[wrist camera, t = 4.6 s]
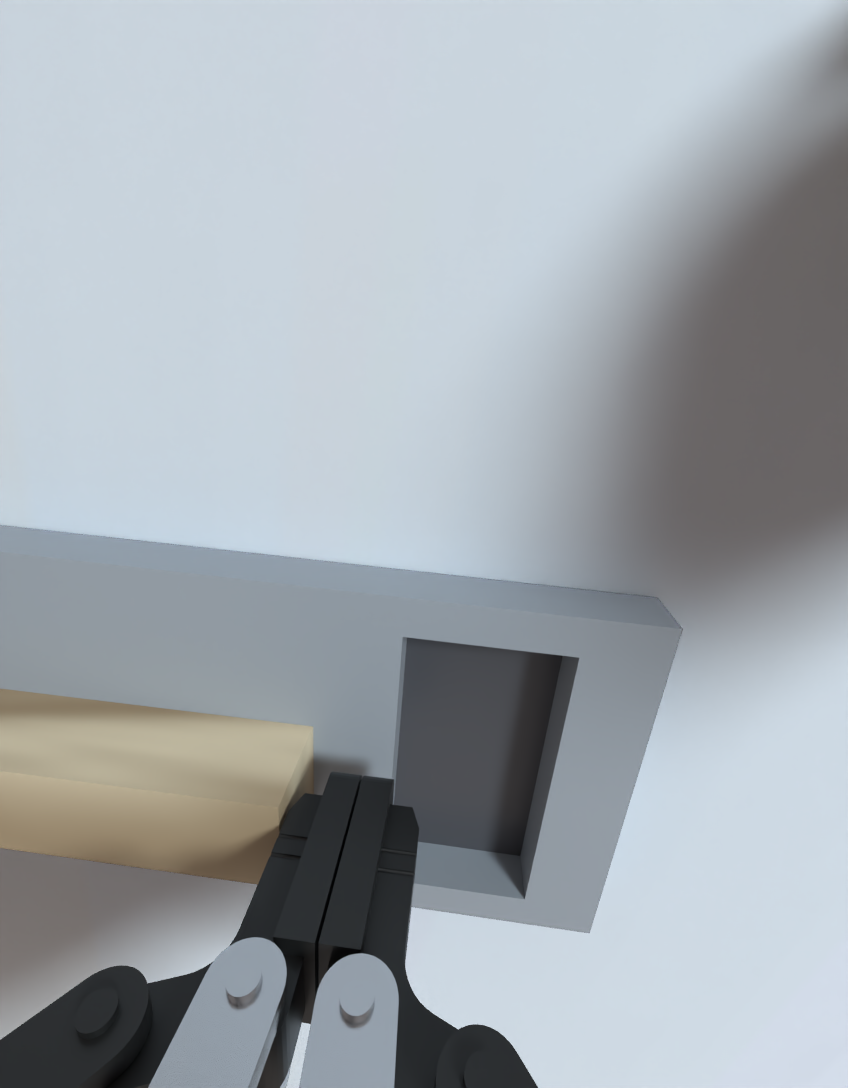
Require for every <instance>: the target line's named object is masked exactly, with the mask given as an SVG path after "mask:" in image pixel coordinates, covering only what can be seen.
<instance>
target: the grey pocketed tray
mask: <svg viewBox="0 0 848 1088" xmlns="http://www.w3.org/2000/svg"><path fill="white" fill-rule="evenodd" d="M682 630H683V629H682V628H681V626H680V625H679V624H678V623H677V621H676V620H675V619H674V618H673V616H672V615H671V614H670V613H669V611H668V610H667V609H666V608H665V606H664V605H663V604H662V603H661V601H660V600H659V599H658V598H655V597H645V596H636V595H627V594H618V593H609V592H600V591H591V590H582V589H573V588H564V587H555V586H546V585H537V584H528V583H519V582H509V581H500V580H491V579H482V578H473V577H464V576H455V575H446V574H437V573H428V572H419V571H410V570H401V569H392V568H383V567H374V566H364V565H355V564H346V563H337V562H328V561H319V560H310V559H301V558H292V557H283V556H274V555H265V554H256V553H247V552H238V551H228V550H219V549H210V548H201V547H192V546H183V545H174V544H165V543H156V542H147V541H138V540H129V539H120V538H111V537H102V536H92V535H83V534H74V533H65V532H56V531H47V530H38V529H29V528H20V527H11V526H2V525H0V689H8V690H17V691H25V692H33V693H41V694H49V695H58V696H66V697H74V698H82V699H91V700H99V701H107V702H115V703H124V704H132V705H140V706H148V707H157V708H165V709H173V710H181V711H190V712H198V713H206V714H214V715H222V716H231V717H239V718H247V719H255V720H264V721H272V722H280V723H288V724H297V725H305V726H313V756H314V794H316V795H323V792H324V789H325V786H326V784H327V781H328V778H329V775H330V773H331V772H332V771H333V772H341V773H349V774H356V775H362V777H363V776H364V775H365V776H373V777H381V778H388V779H394V793H393V805H399V806H407V807H413V810H414V813H415V817H416V820H417V823H418V826H419V837H418V848H417V858H416V869H415V879H414V888H413V897H412V906H411V907H415V908H422V909H429V910H435V911H442V912H449V913H456V914H462V915H469V916H476V917H483V918H489V919H496V920H503V921H510V922H516V923H523V924H530V925H537V926H544V927H550V928H557V929H564V930H571V931H577V932H584V933H590V930H591V927H592V923H593V920H594V917H595V914H596V910H597V907H598V904H599V901H600V897H601V894H602V891H603V888H604V884H605V881H606V878H607V875H608V871H609V868H610V865H611V861H612V858H613V855H614V852H615V848H616V845H617V842H618V839H619V835H620V832H621V829H622V826H623V822H624V819H625V816H626V812H627V809H628V806H629V803H630V799H631V796H632V793H633V790H634V786H635V783H636V780H637V777H638V773H639V770H640V767H641V764H642V760H643V757H644V754H645V750H646V747H647V744H648V741H649V737H650V734H651V731H652V728H653V724H654V721H655V718H656V715H657V711H658V708H659V705H660V701H661V698H662V695H663V692H664V688H665V685H666V682H667V679H668V675H669V672H670V669H671V666H672V662H673V659H674V656H675V653H676V649H677V646H678V643H679V639H680V636H681V633H682Z"/></svg>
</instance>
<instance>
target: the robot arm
mask: <svg viewBox="0 0 848 1088" xmlns="http://www.w3.org/2000/svg"><path fill="white" fill-rule="evenodd" d="M393 793H394V779H388V778H381V777H373V776H365V775H364V776H363V777H362V775H356V774H349V773H341V772H333V771H332V772H331V773H330V775H329V778H328V781H327V784H326V786H325V789H324V792H323V795H316V794H308V793H305V794H304V795H303V796H302V797H301V798H300V799H299V800H298V801H297V802H296V803H295V804H294V805H293V806H292V808H291V809H290V810H289V811H288V813H287V815H286V818H285V820H284V823H283V825H282V827H281V830H280V832H279V837H278V838H277V840H276V842H275V844H274V847H273V849H272V852H271V856H270V857H269V859H268V861H267V864H266V866H265V869H264V871H263V873H262V876H261V878H260V881H259V883H258V886H257V888H256V890H255V893H254V895H253V898H252V900H251V903H250V905H249V907H248V910H247V912H246V915H245V917H244V919H243V922H242V924H241V927H240V929H239V931H238V933H237V935H236V937H235V938H234V940H233V941H232V943H231V944H230V946H229V947H228V948H226V949H225V950H224V951H222V952H221V953H220V954H219V955H218V957H217V958H216V959H215V960H214V961H213V962H212V963H211V964H209V965H207V966H206V967H204V968H202V969H200V970H198V971H196V972H193V973H190V974H187V975H183V976H179V977H174V978H170V979H166V980H161V981H157V982H153V983H148V984H147V981H146V979H145V977H144V976H143V974H142V973H141V972H140V971H139V970H137V969H135V968H133V967H129V966H114V967H110V968H107V969H104V970H101V971H99V972H97V973H95V974H93V975H92V976H90V977H89V978H87V979H85V980H84V981H83V982H81V983H80V984H78V985H77V986H76V987H74V988H73V989H71V990H70V991H69V992H67V993H66V994H64V995H63V996H62V997H60V998H59V999H57V1000H56V1001H55V1002H53V1003H52V1004H50V1005H49V1006H47V1007H46V1008H45V1009H43V1010H42V1011H40V1012H39V1013H38V1014H36V1015H35V1016H33V1017H32V1018H31V1019H29V1020H28V1021H26V1022H25V1023H24V1024H22V1025H21V1026H19V1027H18V1028H17V1029H15V1030H14V1031H12V1032H11V1033H10V1034H8V1035H7V1036H5V1037H4V1038H2V1039H1V1040H0V1088H286V1086H287V1082H288V1078H289V1074H290V1065H291V1062H292V1058H293V1054H294V1050H295V1046H296V1042H297V1039H298V1035H299V1031H300V1027H301V1023H302V1022H303V1023H309V1024H311V1026H310V1031H309V1036H308V1042H307V1047H306V1053H305V1058H304V1063H303V1069H302V1074H301V1080H300V1085H299V1088H538V1087H537V1085H536V1084H535V1082H534V1080H533V1079H532V1077H531V1075H530V1074H529V1072H528V1070H527V1069H526V1067H525V1065H524V1064H523V1062H522V1060H521V1059H520V1057H519V1055H518V1054H517V1052H516V1051H515V1049H514V1048H513V1046H512V1045H511V1043H510V1042H509V1041H508V1040H507V1039H506V1038H505V1037H504V1036H503V1035H501V1034H500V1033H499V1032H498V1031H496V1030H494V1029H492V1028H490V1027H487V1026H484V1025H476V1024H475V1025H468V1026H465V1027H463V1028H461V1029H459V1030H458V1029H456V1028H455V1027H453V1026H452V1025H450V1024H448V1023H447V1022H445V1021H444V1020H442V1019H440V1018H439V1017H437V1016H436V1015H434V1014H433V1013H431V1012H430V1011H429V1010H427V1009H426V1008H425V1007H424V1006H423V1005H422V1004H421V1003H420V1002H419V1000H418V999H417V997H416V996H415V995H414V993H413V991H412V989H411V987H410V984H409V982H408V979H407V975H406V970H405V959H406V950H407V941H408V932H409V923H410V915H411V906H412V897H413V888H414V879H415V869H416V858H417V848H418V837H419V826H418V823H417V820H416V817H415V813H414V810H413V807H407V806H399V805H393Z"/></svg>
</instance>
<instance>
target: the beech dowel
mask: <svg viewBox="0 0 848 1088" xmlns="http://www.w3.org/2000/svg"><path fill="white" fill-rule="evenodd" d="M305 793H308V794H314V756H313V726H305V725H297V724H288V723H280V722H272V721H264V720H255V719H247V718H239V717H231V716H222V715H214V714H206V713H198V712H190V711H181V710H173V709H165V708H157V707H148V706H140V705H132V704H124V703H115V702H107V701H99V700H91V699H82V698H74V697H66V696H58V695H49V694H41V693H33V692H25V691H17V690H8V689H0V848H4V849H11V850H18V851H25V852H32V853H39V854H46V855H53V856H60V857H67V858H75V859H82V860H89V861H96V862H103V863H110V864H117V865H124V866H131V867H138V868H145V869H152V870H159V871H167V872H174V873H181V874H188V875H195V876H202V877H209V878H216V879H223V880H230V881H237V882H244V883H252V884H258V883H259V881H260V878H261V876H262V873H263V871H264V869H265V866H266V864H267V861H268V859H269V857H270V856H271V852H272V849H273V847H274V844H275V842H276V840H277V838H278V837H279V832H280V830H281V827H282V825H283V823H284V820H285V818H286V815H287V813H288V811H289V810H290V809H291V808H292V806H293V805H294V804H295V803H296V802H297V801H298V800H299V799H300V798H301V797H302V796H303V795H304V794H305Z"/></svg>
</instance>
